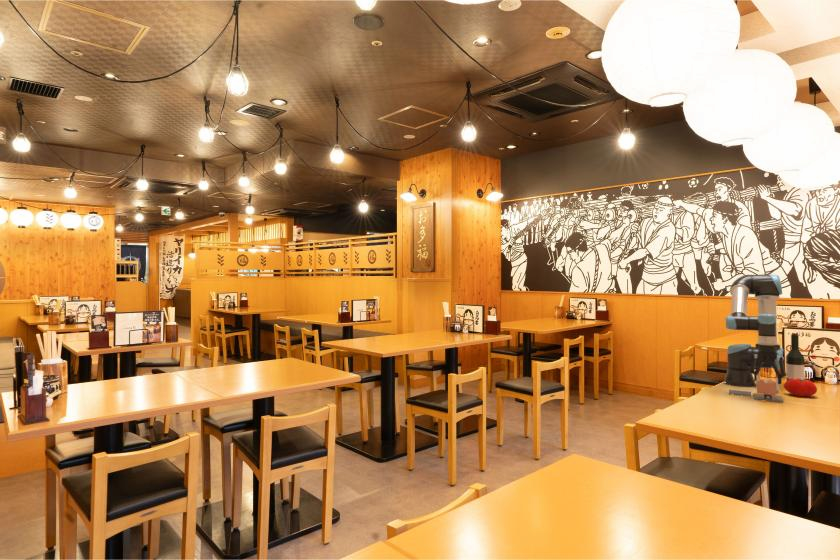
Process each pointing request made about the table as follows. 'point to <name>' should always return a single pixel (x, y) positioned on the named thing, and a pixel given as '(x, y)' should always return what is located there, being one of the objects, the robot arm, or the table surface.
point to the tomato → (800, 387)
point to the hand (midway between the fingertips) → (767, 388)
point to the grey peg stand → (768, 397)
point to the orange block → (767, 387)
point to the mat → (740, 392)
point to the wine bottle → (794, 360)
